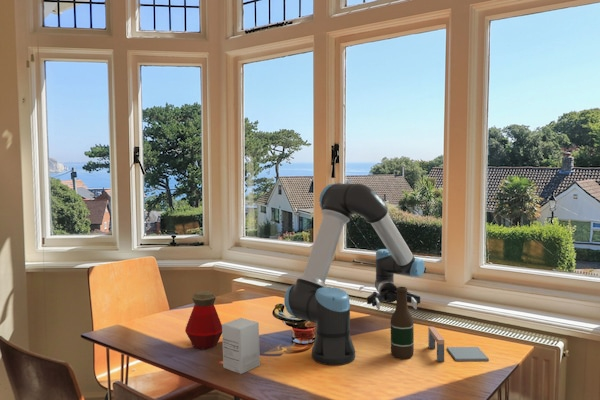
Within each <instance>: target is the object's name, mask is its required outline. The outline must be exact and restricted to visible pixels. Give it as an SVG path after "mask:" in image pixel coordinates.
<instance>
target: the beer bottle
mask: <svg viewBox="0 0 600 400" xmlns="http://www.w3.org/2000/svg"><path fill="white" fill-rule="evenodd" d="M396 291H397V301H396V305H395V306H396V307H395V310H394V312H393V313H392V316H391V318H390V354H391V356H392V357H394V359H400V360H408V359H409V360H410V359H411V358H412V357H413V356H414V349H415V348H414V347H415V345H414V340H415V339H414V338H415V337H414V335H415V334H414V319H413V316H412V314H411V313H410V311H409V305H408V302H407V292H408V288H407V287H405V286H398V287H397V289H396Z"/></svg>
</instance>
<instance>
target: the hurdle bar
mask: <svg viewBox="0 0 600 400" xmlns="http://www.w3.org/2000/svg"><path fill="white" fill-rule="evenodd" d="M427 328H428V331H429V332H430V334H431V335H432V336H433V338H434V339H435V343H436V344H437V343H438V344H444V345H445V339H444V338H443V336H442V335H441V333H440V332H439V331H438V330H437V329H436V328H435V326H428V327H427ZM428 331H427V332H428Z"/></svg>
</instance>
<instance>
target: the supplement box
mask: <svg viewBox="0 0 600 400" xmlns="http://www.w3.org/2000/svg"><path fill="white" fill-rule="evenodd" d="M221 324H222V335H221V338H222V339H221V340H222V360H223V361H222V366H223V367H222V368H223V369H227V370H228V371H232V372H234V373H237V374H240V375H242V374H244V373H247V372H249V371H252V370H253V369H256V368H258V367H260V365H261V357H260V356H261V355H260V353H261V352H260V351H261V350H260V327H259V326H260V324H259V322H258V321H255V320H250V319H247V318H244V317H239V318H237V319H233V320H231V321H228V322H227V321H226V322H225V323H221Z"/></svg>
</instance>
